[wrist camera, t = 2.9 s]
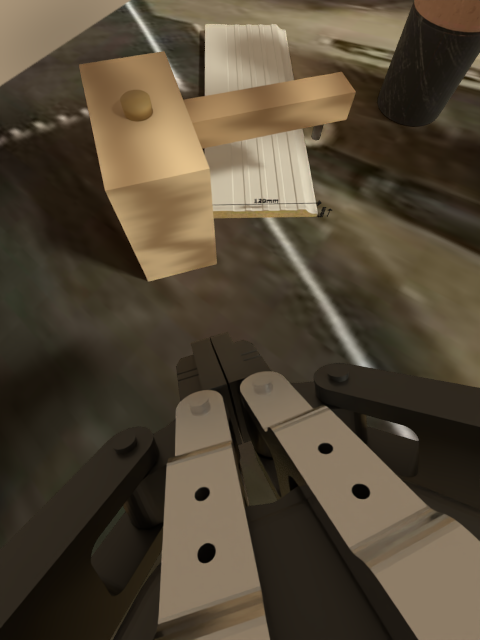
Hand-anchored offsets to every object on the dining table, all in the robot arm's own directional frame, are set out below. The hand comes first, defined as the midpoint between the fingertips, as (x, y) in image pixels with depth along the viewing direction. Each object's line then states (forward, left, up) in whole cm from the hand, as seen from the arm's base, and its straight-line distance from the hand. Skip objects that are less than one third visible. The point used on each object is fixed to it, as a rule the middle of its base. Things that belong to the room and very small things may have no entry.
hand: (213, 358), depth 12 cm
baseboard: (-13, -30, -12) cm, 35 cm away
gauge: (-6, -17, -11) cm, 22 cm away
